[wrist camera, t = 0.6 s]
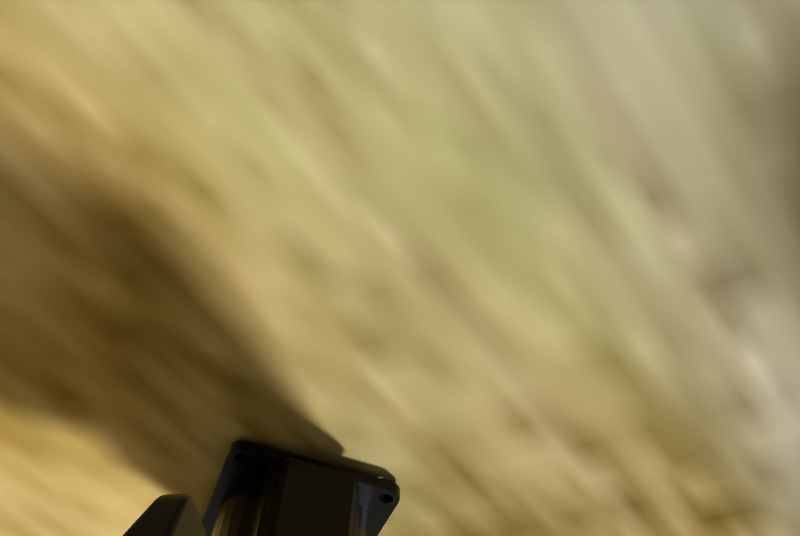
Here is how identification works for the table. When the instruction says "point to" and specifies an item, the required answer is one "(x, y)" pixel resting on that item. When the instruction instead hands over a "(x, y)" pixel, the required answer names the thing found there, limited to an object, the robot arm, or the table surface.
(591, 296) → the table surface
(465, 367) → the table surface
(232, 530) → the robot arm
